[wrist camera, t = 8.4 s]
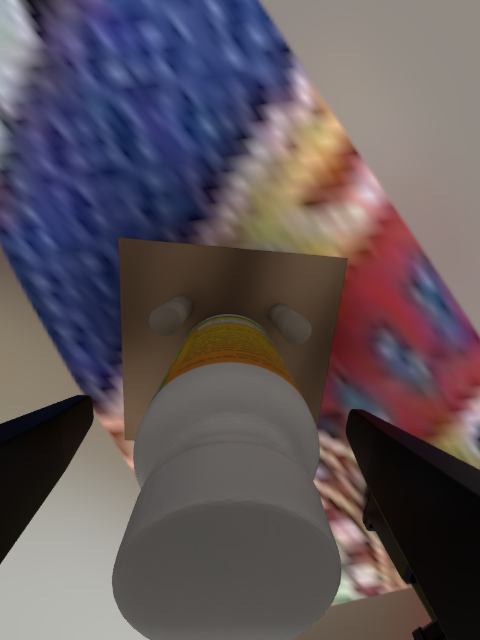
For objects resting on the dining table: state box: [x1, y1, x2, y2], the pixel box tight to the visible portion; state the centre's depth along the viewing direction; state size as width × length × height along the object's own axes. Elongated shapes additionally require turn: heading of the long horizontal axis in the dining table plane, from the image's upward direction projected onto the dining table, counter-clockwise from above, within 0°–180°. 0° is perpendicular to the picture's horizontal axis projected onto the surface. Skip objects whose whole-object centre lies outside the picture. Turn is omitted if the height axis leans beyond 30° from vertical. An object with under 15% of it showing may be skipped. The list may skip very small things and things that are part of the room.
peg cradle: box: [118, 238, 348, 441], centre depth 12 cm, size 12×12×5 cm
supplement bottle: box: [112, 314, 341, 640], centre depth 9 cm, size 5×5×10 cm
